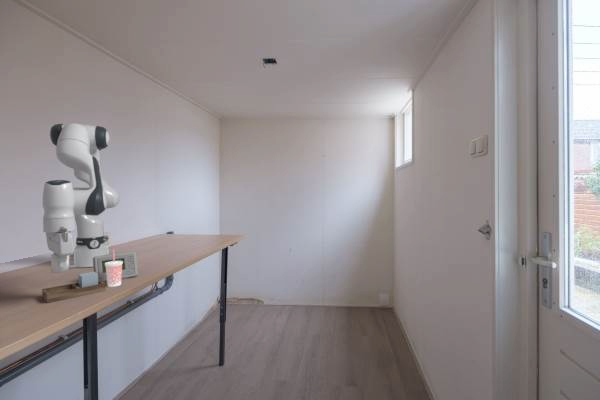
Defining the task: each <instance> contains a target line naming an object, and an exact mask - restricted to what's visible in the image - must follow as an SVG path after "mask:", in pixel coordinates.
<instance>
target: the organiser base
mask: <svg viewBox="0 0 600 400" xmlns="http://www.w3.org/2000/svg"><path fill="white" fill-rule="evenodd" d="M106 286H107V282H103V281H101V280H99V279H98V284H97V285H92V286H87V287H82V288H79V283H78V282H73V283H69V284H63V285H58V286H52V287H46V288H42V289H41V297H42V299H44V301H45V302H46V303H47V304H48V303H49V304H50V303H54V302H59V301H64V300H67V299H71V298H77V297H78V298H79V297H81V296H86V295H91V294H95V293H100V292H101V293H102V292H104V291H106V290H107V287H106Z"/></svg>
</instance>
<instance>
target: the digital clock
mask: <svg viewBox="0 0 600 400" xmlns="http://www.w3.org/2000/svg"><path fill="white" fill-rule="evenodd" d="M136 253H137V252H135V251H128V252H118V253H114V256H115V261H123V264H122V277H121V281H122V280H127V279H130V278H135V277H137V276H139V271H138V270H139V267H138V260H137V254H136ZM111 261H113V253H109V254H108V255H101V256H95V257H93V267H92V268H93V269H92V270H93V272H95V273H97V274H98V279H99V280H101V281H103V282H104V283H107V274H106V266H105V263H106V262H111Z"/></svg>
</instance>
